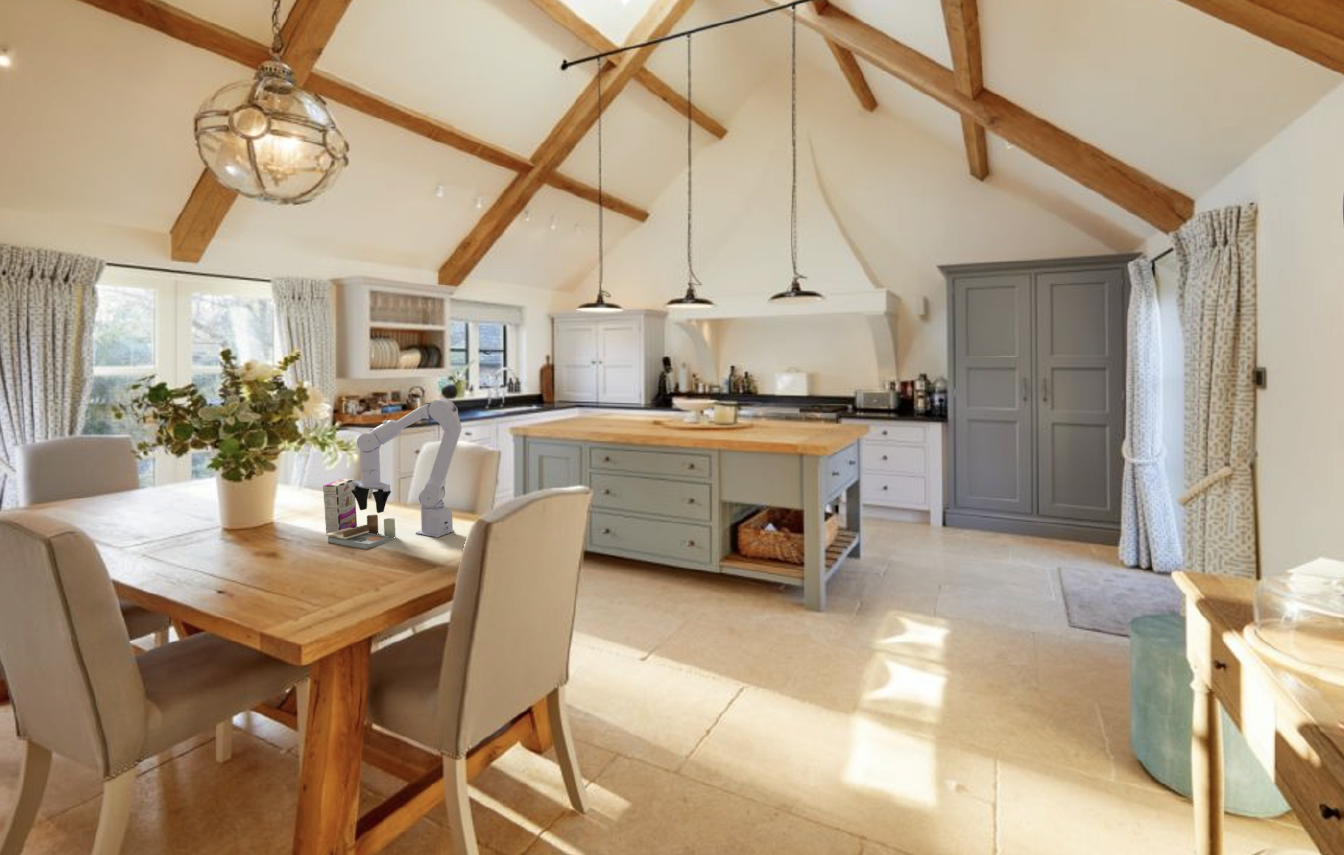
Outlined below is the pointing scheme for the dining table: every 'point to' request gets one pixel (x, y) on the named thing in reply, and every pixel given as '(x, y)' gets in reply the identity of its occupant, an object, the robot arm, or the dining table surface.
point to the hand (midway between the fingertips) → (371, 510)
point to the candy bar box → (339, 505)
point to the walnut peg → (372, 523)
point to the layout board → (361, 540)
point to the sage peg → (389, 527)
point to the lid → (349, 532)
